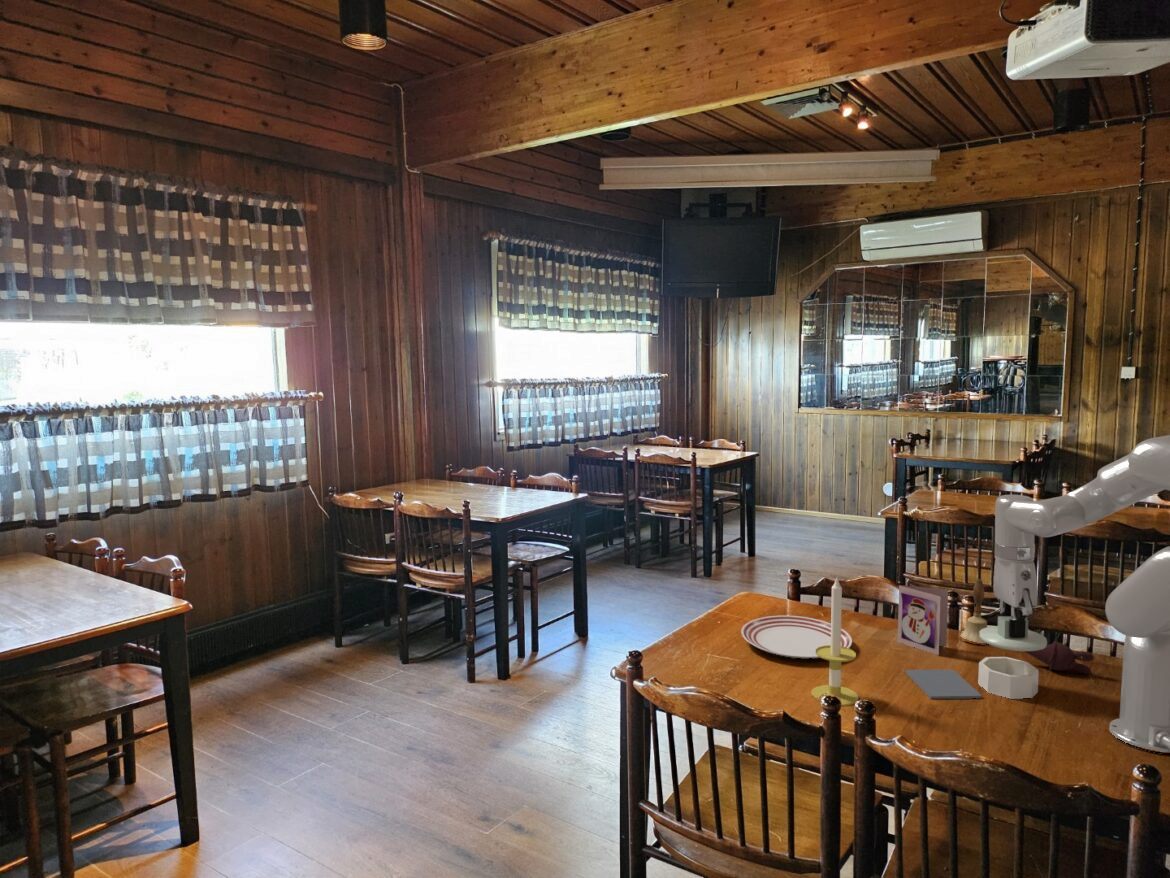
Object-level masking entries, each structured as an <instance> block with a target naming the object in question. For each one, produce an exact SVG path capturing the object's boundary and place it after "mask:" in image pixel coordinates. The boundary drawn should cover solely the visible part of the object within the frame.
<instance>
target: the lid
mask: <svg viewBox="0 0 1170 878" xmlns="http://www.w3.org/2000/svg"><path fill="white" fill-rule="evenodd" d="M1009 619H1012V618H1011V616H1001V615H1000V616H997V626H987V628H984V629H981V630H980V632H979V638H980V639H981V640H982V641H983V642H985V643H987V644H989V645H988V646H992V647H995V648H998V649H1003V650H1008V651H1015V652H1024V651H1037V650H1042V649H1044V648H1046V646H1047V645H1048V640H1047V638H1046V637H1045V636H1044V635H1043V634H1041V633H1038V632H1036V631H1033V630H1030V629H1029V620H1028V619H1027V620H1026V628H1025V637H1024V638H1011V637H1010V636H1009Z"/></svg>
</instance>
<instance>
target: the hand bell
mask: <svg viewBox="0 0 1170 878" xmlns="http://www.w3.org/2000/svg"><path fill="white" fill-rule="evenodd" d="M972 589H973V590H972V596H973V601H974V605H975V604H976V607H975V606H974V609H973V610H974V611H973V616H971V617H968V618H967V621H966V626H965V629H964V630H963V632H961V633H960V634H961V635H960V634H959V635H960V636H961V637H962V638H964V639H967V640H969V641H973V642H977V643H985V642H983V641H982V640H981V639H980V638H979V632H980V630H981V629H984V628H987V627H988V621H987V620H986V619H985V618H983V617H982V602H983V601H984V597H985V587H984V584H983V579H979V578H978V579H976V581H975V584H974V586H973V588H972Z"/></svg>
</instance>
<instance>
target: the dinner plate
mask: <svg viewBox="0 0 1170 878" xmlns="http://www.w3.org/2000/svg"><path fill="white" fill-rule="evenodd" d="M740 632H741V636H742V637H743V638H744V640H745V641H746V642H748V643H749V644H750V645H752V646H754V647H755V648H757V649H760V650H761V651H764V652H766V653H769V654H773V655H775V654H776V655H775V656H778V655H780V656H779V657H782V656H785V657H784V658H788V657H791V658H790V659H796V658H801V659H800V660H806V659H807V660H809V658H812V659H818V658H820V657H818V656H817V655H816V649H817V648H818V647H821V646H828V645H831V622H828V621H824V620H821V619H816V618H812V617H806V616H801V615H799V616H798V615H785V614H784V615H770V616H768V615H767V616H762V617H759V618H755V619H752V620H750V621H748V622H747V623H745V624H744V625H743V626H742V627H741V629H740ZM852 645H853V639H852V637H851V635H850V633H848V632H847V631H846V630H845V629H843V628H842V627H841V647H846V648H849V649H851V647H852ZM820 659H821V658H820Z"/></svg>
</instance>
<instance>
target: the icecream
mask: <svg viewBox="0 0 1170 878" xmlns="http://www.w3.org/2000/svg"><path fill="white" fill-rule="evenodd" d="M1023 652H1024V653H1026V654H1028V655H1029V656H1031V657H1033V658H1035V659H1037V660H1039V661H1041V662H1042V663H1043V664H1046V665H1048V667H1049V668H1048V669H1049V671H1052V670H1054V671H1061V672H1063V671H1067V670H1070V669H1072V670H1073V671H1075V672H1077V673H1079V674H1081V673H1084V674H1083V675H1090V674H1091V673H1092V670H1091V668H1090V667H1089V666H1087V665H1085V664H1082V663H1079V662H1076V660H1077V661H1080V662H1085V663H1086V662H1087V663H1088V662H1089V663H1090V662H1092V661H1093V660H1094V659H1095V657H1094V655H1093V653H1091V652H1089V651H1085V650H1084V651H1073V650H1072V649H1071V648H1070V647H1069V646H1067V645H1066V644H1063V643H1062V642H1058V641H1056V640H1054V641H1053V642H1052V643H1049V644H1047V646H1046V648H1044V649H1042V650H1037V651H1023Z"/></svg>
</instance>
